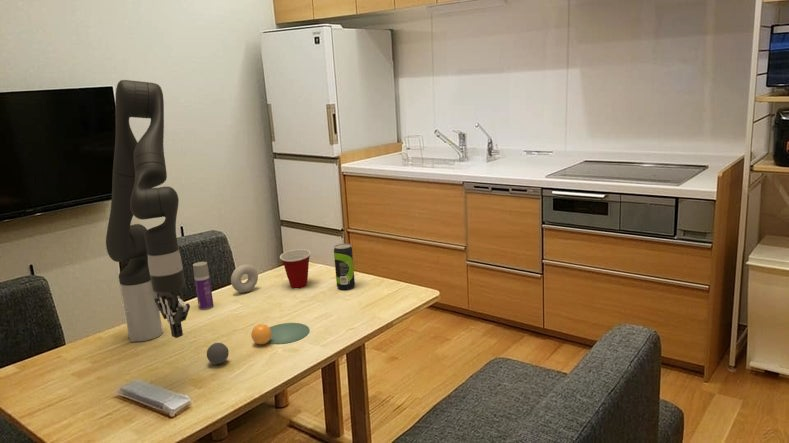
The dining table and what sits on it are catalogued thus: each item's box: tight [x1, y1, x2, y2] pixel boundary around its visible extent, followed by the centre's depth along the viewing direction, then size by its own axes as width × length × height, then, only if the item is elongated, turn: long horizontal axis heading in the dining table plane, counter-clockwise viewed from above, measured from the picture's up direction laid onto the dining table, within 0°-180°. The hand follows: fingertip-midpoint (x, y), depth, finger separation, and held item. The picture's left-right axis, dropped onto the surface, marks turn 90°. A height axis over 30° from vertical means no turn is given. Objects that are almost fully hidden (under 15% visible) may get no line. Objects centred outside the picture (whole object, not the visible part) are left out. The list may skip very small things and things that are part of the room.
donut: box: [230, 263, 259, 294], centre depth 209 cm, size 10×4×10 cm, turn 133°
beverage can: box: [333, 243, 356, 291], centre depth 207 cm, size 6×6×15 cm
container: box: [192, 261, 214, 311], centre depth 196 cm, size 5×5×15 cm
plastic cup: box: [279, 248, 312, 289], centre depth 211 cm, size 11×11×12 cm
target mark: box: [266, 322, 310, 345], centre depth 174 cm, size 14×14×1 cm
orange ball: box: [250, 324, 272, 345], centre depth 168 cm, size 6×6×6 cm
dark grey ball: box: [206, 342, 230, 365], centre depth 158 cm, size 6×6×6 cm
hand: (177, 336), depth 149 cm, fingers closed
